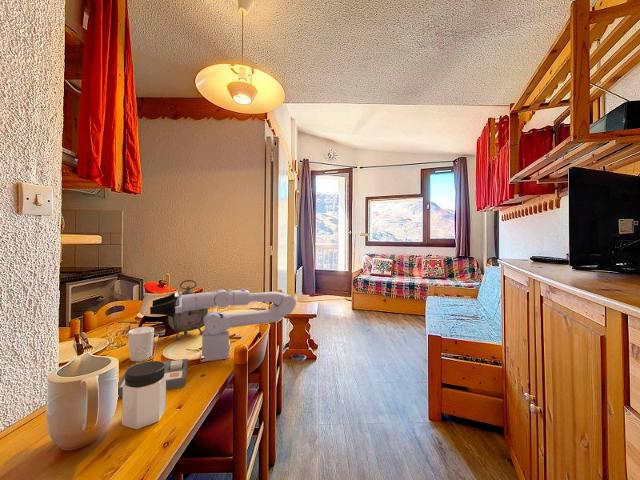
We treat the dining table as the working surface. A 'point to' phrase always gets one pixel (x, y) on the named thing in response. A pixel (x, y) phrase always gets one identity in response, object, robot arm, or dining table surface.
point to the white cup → (141, 343)
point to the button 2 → (176, 364)
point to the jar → (144, 394)
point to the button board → (173, 377)
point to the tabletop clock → (187, 316)
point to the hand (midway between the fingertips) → (151, 307)
